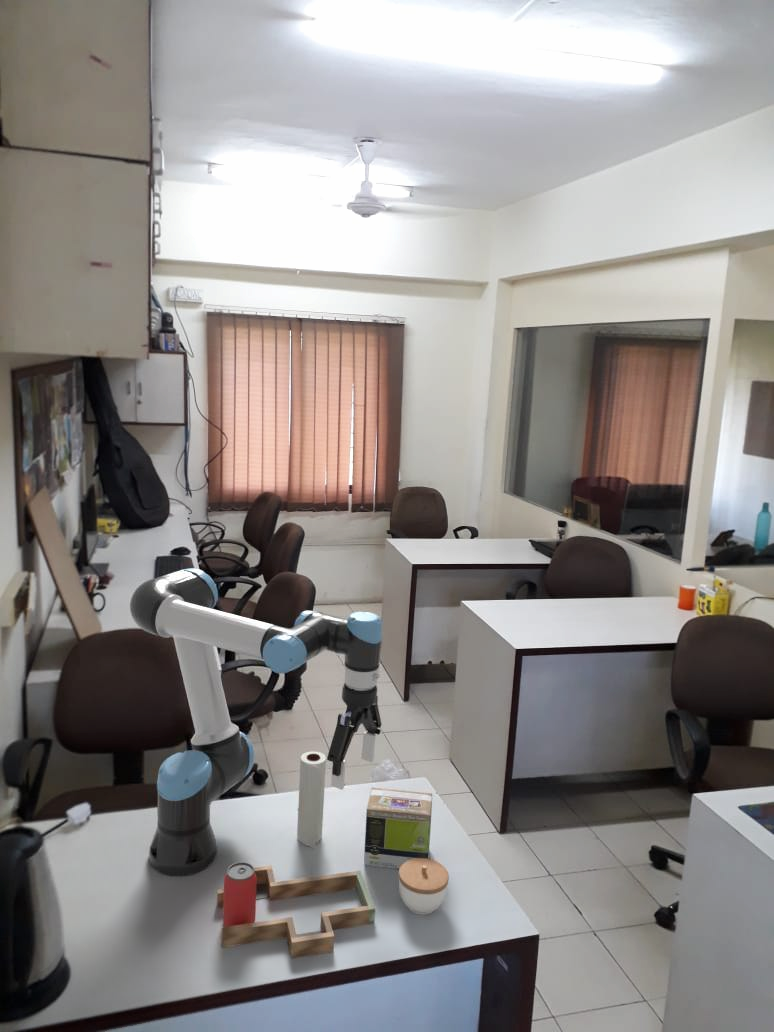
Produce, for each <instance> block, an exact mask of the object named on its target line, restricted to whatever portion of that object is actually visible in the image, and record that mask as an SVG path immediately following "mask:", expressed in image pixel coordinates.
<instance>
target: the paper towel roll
mask: <svg viewBox="0 0 774 1032" xmlns="http://www.w3.org/2000/svg"><path fill="white" fill-rule="evenodd" d="M326 764H327V756H326V755H325V754H324V753H323V752H320V751H312V750H311V751H307V752H304V753H302V754H301V756H300V765H299V786H298V789H299V790H298V809H297V810H298V811H297V827H296V828H297V829H296V836H297V839H298V841H300V842H301V843H302V844H304V845H305V846H308V847H311V848H313V849H314V850H315V849H316V843H318V842H319V841H320V840H321V839H322V836H323V826H324V825H323V822H324V804H325V803H324V802H325V785H326V784H325V783H326V766H327V765H326Z"/></svg>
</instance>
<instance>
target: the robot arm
mask: <svg viewBox="0 0 774 1032" xmlns="http://www.w3.org/2000/svg"><path fill="white" fill-rule="evenodd" d="M217 588H218V587H217V586H216V584H215V581H214V580H213V579H212V577H211V576H210V575H209V574H207V573H206V572H205V571H204V570H202V569H199V568H193V567H191V568H189V567H188V568H184V569H179V570H175V571H173V572H170V573H168V574H167V573H166V574H164V575H162V576H158V577H156V578H151V579H148V580H147V581H144V582H143V583H141V584H140V585H139V586H138V587H136V589H135V591H134V592H133V594H132V596H131V599H130V602H129V603H130V604H129V611H130V616H131V617H132V619H133V621H134V622H135V624H136V625H137V626H138V627H139V628H140V629H141V630H142V631H144V632H147V633H150V634H152V635H155V636H158V637H162V638H164V639H165V638H166V639H167V638H171V637H172V638H173V642H174V646H175V651H176V654H177V660H178V662H179V663H178V664H179V667H180V672H181V677H182V679H183V685H184V689H185V693H186V696H187V700H188V706H189V709H190V714H191V719H192V723H193V727H194V730H195V731H194V732H195V733H194V734H193V736H192V738H191V739H190V744H191V748H192V749H191V750H184V751H183V752H181V751H180V752H176V753H174V754H172V755H170V756H169V757H167V758H166V759H165V760H164V761H163V762H162V764H161V765H160V767H159V769H158V775H157V782H156V790H157V792H156V794H157V795H156V796H157V797H156V798H157V803H156V804H157V806H156V807H157V812H156V813H157V824H156V825H157V826H156V830H155V832H154V835H153V837H152V841H151V843H150V846H149V849H148V852H149V853H148V855H149V856H148V860H149V864H150V866H151V867H152V868H153V869H154V870H155V871H157V872H159V873H160V874H164V875H166V876H173V877H174V876H175V877H177V876H178V877H181V876H190V875H193V874H196V873H199V872H201V871H203V870H205V869H206V868H208V867H210V865H212V863H213V862H214V861H215V859H216V857H217V853H218V851H217V850H218V842H217V839H216V836H215V833H214V830H213V827H212V824H211V804H212V803H213V802H214V801H215V800H217V799H218V798H219V797H221V796H222V795H224V794H225V793H227V791H229V790H230V789H231V788H232V787H234V786H235V785H237V784H239V783H240V782H242V781H243V779H244V778H245V777H246V776H247V775H248V774H249V773H250V772H251V770H252V768H253V766H254V762H255V749H254V745H253V743H252V741H251V739H250V738H247V735H246V734H245V733H244V732H242V731H240V728H239V726H238V725H236V724H235V723H233V722H232V721H231V717H230V713H229V708H228V705H227V701H226V694H225V691H224V687H223V682H222V678H221V673H220V670H219V665H218V664H219V663H218V661H217V656H216V652H215V648H219V649H223V650H226V651H230V652H234V653H237V654H241V655H245V656H248V657H252V658H256V659H259V660H262V661H264V664H265V666H266V667H268V668H269V669H270V670H271V671H272V672H274V673H276V674H286V673H290V672H291V671H295V670H297V669H298V668H300V667H301V666H303V665H304V664H306V663H307V662H308V661H310V660H311V659H314V658H315V657H317V656H318V655H320V654H322V653H323V652H326V651H327V652H331V653H332V652H333V653H335V654H340V655H344V665H343V666H344V667H343V677H342V682H343V684H342V692H341V700H342V702H343V703H344V704H345V705H346V710H345V713H344V714H343V713H338V715H337V721H336V726H335V729H334V733H333V737H332V741H331V743H330V746H329V749H328V753H327V756H326V761H329V762H332V769H331V778H330V779H331V781H330V786H331V787H334V788H336V789H339V790H344V789H345V788H344V787H345V779H346V778H345V777H346V776H345V775H346V764H347V763H346V762H347V760H345V757H346V755H347V753H348V750H349V747H350V745H351V742H352V739H353V737H354V734H355V733H357V732H358V731H359V727H360V726H361V725H362V726H363V728H364V730H365V731H364V732H363V735H362V737H363V738H362V750H361V760H364V761H367V762H369V763H374V759H375V757H374V756H375V748H376V747H375V746H376V735H380V734H381V729H380V728H381V727H382V719H381V715H380V710H379V705H378V699H379V698H378V686H377V685H378V684H379V683H378V682H379V678H380V676H381V675H380V674H379V672H380V671H379V669H380V660H381V650H382V641H383V620H382V618H381V616H379V615H378V614H376V613H373V612H367V611H366V612H365V611H356V612H352V613H351V614H349V615H348V618H347V619H346V618H342V617H338V616H336V615H335V616H334V615H332V614H327V613H324V612H322V611H317V610H304V611H302V612H300V614H299V616H297V618H296V619H295V621H294V625H293V627H291V628H290V627H289V628H288V627H283V626H279V625H275V624H273V623H268V622H265V621H260V620H256V619H252V618H249V617H244V616H240V615H237V614H233V613H229V612H225V611H222V610H217V609H215V608H214V607H215V606H216V605H217V602H218V599H219V594H218V593H219V592H218V589H217ZM214 647H215V648H214Z"/></svg>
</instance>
